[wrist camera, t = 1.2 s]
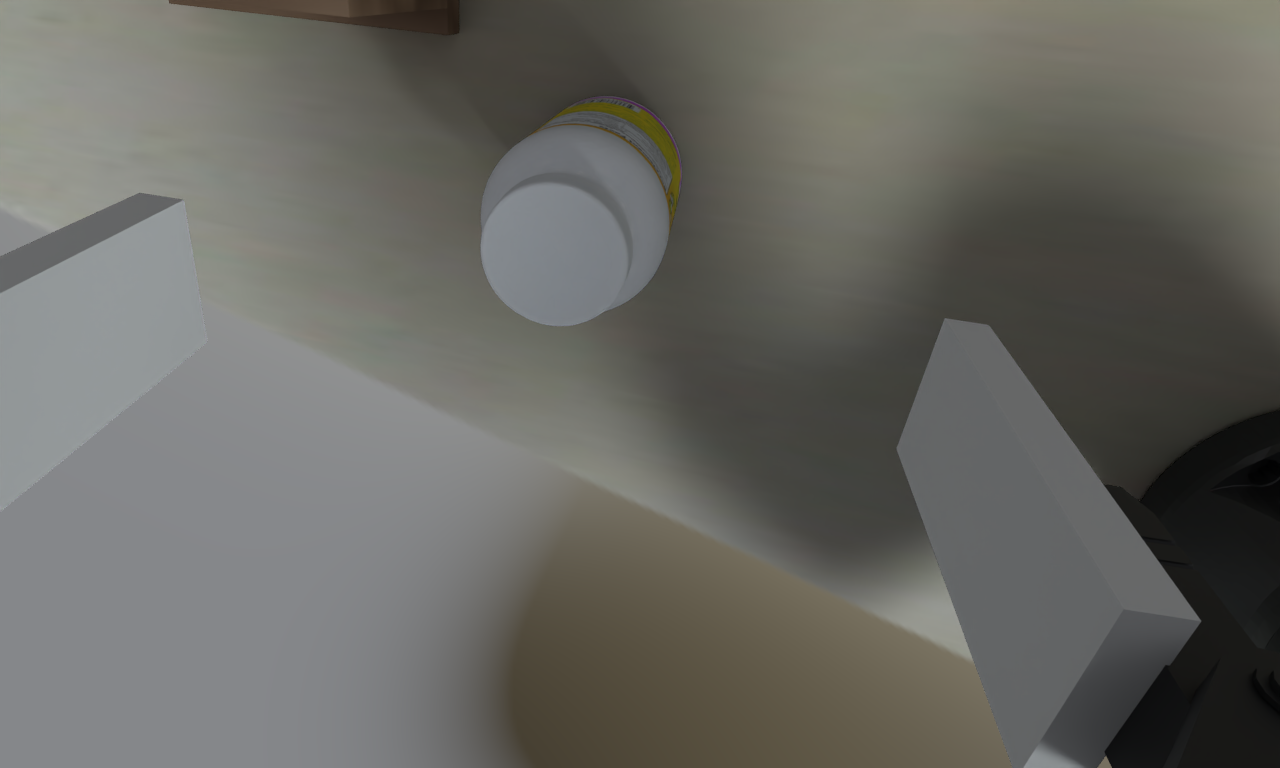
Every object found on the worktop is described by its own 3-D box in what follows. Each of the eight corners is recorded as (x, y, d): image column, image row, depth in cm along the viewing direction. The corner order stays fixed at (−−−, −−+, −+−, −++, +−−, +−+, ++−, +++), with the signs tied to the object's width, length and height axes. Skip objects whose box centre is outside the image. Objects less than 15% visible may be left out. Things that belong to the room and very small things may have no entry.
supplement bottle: (605, 268, 38) (547, 392, 26) (509, 160, 36) (402, 243, 24) (715, 180, 35) (703, 274, 24) (618, 58, 33) (555, 98, 22)
